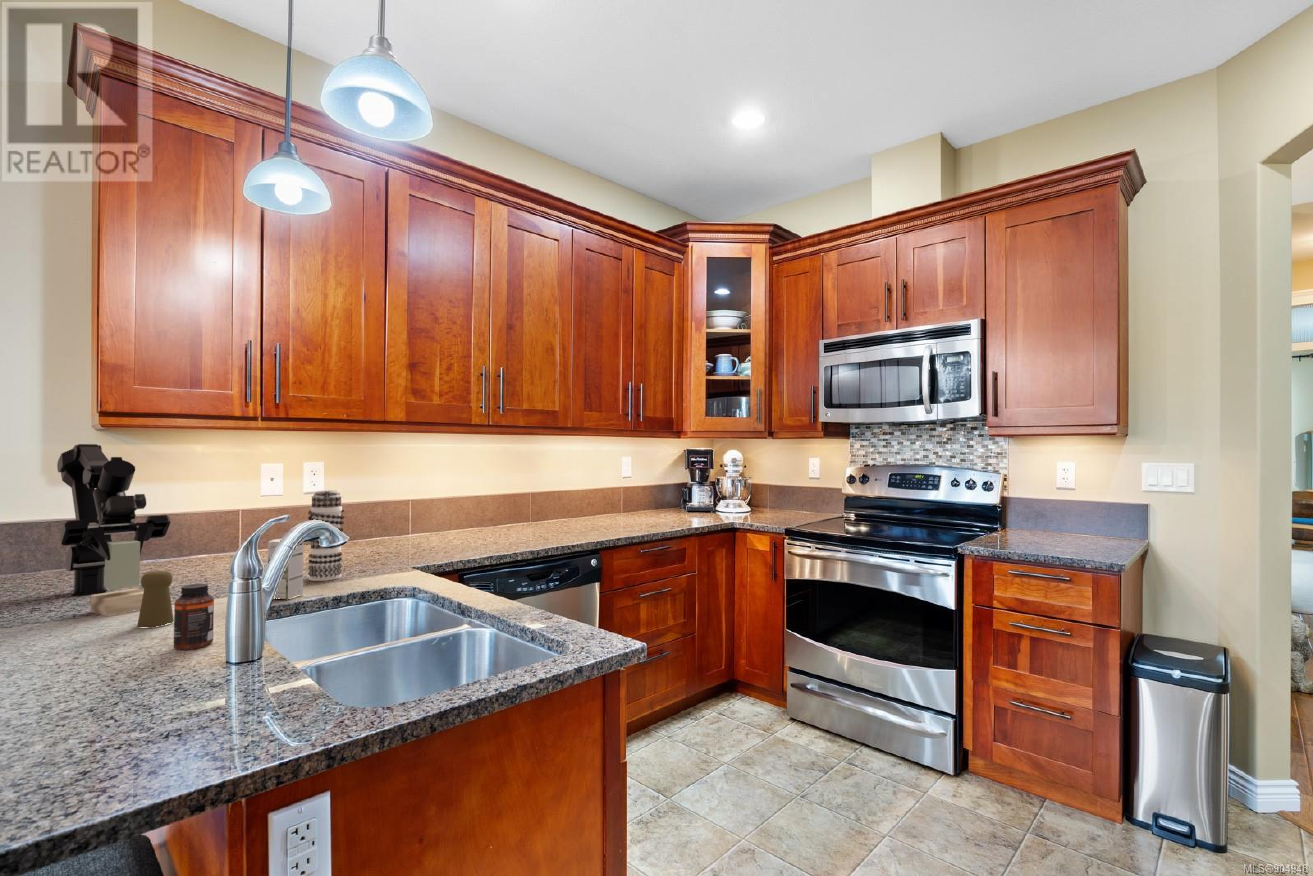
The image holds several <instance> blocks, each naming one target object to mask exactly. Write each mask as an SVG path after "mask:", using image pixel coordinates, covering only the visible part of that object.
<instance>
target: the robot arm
mask: <svg viewBox="0 0 1313 876" xmlns="http://www.w3.org/2000/svg"><path fill="white" fill-rule="evenodd" d="M102 449H103V448H102V445H100V444H97V443H78V444H75V445H74V446H73V447H72V448H71V449H69V450H67V451H64V452H62V453H60V456H59V458H58V460H57V465H56V467H57V472H58V473H60V476H61V477H60V478H61V480H62V482H64V483H65V484H66V485H67V486H69V487H70V488H71V492H72V493H71V494H72V499H73V502H72V503H73V509H74V515H75V520H66V521H65V522H64V523H63V525H62V528H61V532H60V536H59V538H60V539H59V540H60V544H61V545H62V546H69V548H68V551H67V554H66V558H65V563H64V565H65V566H64V567H65V570H67V571H69V572H73V571H74V576H73V579H74V580H73V589H71V590H70V592H71V596H80V595H81V596H82V595H89V594H91V595H92V594H96V593H97V594H100V593H106V592H105V591H107V592H108V588H106V587H105V586H104V581H105V559H106V560H110V551H109V548H108V545H107V542H113V541H112V536H111V535H118V534H129V533H134V537H133V540H136V541H139V542H140V555H141V554H142V549H143V547H144V542H148V541H150V539H157V538H158V539H159V538H163V537H165V536H166V535H167V534H168V533H167V532H168V530H169V528H170V525H171V518H170V516H169V515H166V514H157V515H156V514H155V515H147V517H146V520H145V522H135V521H133V520H135V519H136V515H137V514H136V510H144V509H145V508H146V507H147V498H146V495H145V493H138V494H137V493H136V494H134V495H127V494H126V492H127V491H128V490H129V489H130V487H131V483H132V481H133V478H134V475H135V471H136V466H135V465H134V464H133V463H131V462H129V461H127V460H123V457H122V456H110V459H108V457H107V456H106V455H105V454H104V452H103V451H102Z"/></svg>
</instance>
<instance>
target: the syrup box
mask: <svg viewBox="0 0 1313 876" xmlns="http://www.w3.org/2000/svg"><path fill="white" fill-rule="evenodd" d="M282 538H283V537H282ZM282 538H275V539H272V540H269V541H268V542H267V564H268V563H269V561H270V559H271V557H272V554H273V553H274V551H275V548H276V547H277V545H278V544H279V543H280V540H282ZM303 585H304V543H303V544H302V545H299V546H298V548H297V549H296V550H295V551H294V552H293V555H292V557H291V558H290V559H289V563H288V566H287V568H286V570H285V571H284V575H283V577H282V579H281V581H280V585H279V587H278V590H277V591H276V594H275V599H276V598H277V599H278V598H280V599H289V598H292V597H294V596H297V595H302V596H303V594H304V586H303ZM275 599H273V600H274V601H275Z"/></svg>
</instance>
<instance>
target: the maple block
mask: <svg viewBox="0 0 1313 876" xmlns="http://www.w3.org/2000/svg"><path fill="white" fill-rule="evenodd" d="M143 593H144V590H143V589H139V588H134V587H133V588H128V589H123V590H116V591H107V592H101V593H97V594H96V593H94V594H91V595H90V612H91V613H93V614H97V615H100V614H101V615H100V616H103V615H105V616H104V617H110V616H109V615H112V616H114V615H113V614H118V615H121V614H120V613H123V614H125V613H124V612H129V611H133V610H138V609H141V603H142V598H143ZM129 613H130V612H129Z"/></svg>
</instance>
